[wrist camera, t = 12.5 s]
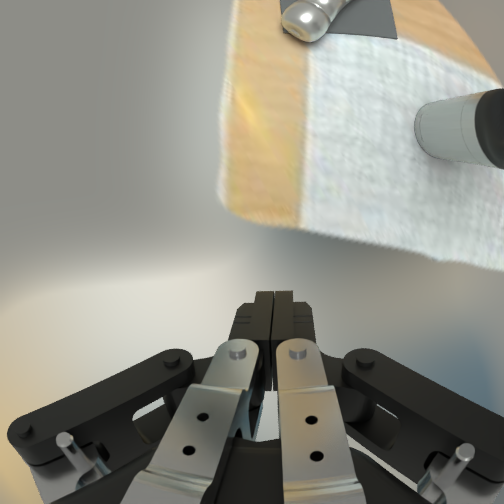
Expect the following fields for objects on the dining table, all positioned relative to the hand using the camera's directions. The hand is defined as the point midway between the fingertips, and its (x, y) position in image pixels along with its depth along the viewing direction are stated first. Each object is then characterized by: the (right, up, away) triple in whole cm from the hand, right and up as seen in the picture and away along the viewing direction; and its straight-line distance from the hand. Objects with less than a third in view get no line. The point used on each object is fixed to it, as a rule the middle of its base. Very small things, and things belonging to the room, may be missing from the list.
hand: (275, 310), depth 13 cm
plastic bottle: (+5, +32, +21) cm, 39 cm away
